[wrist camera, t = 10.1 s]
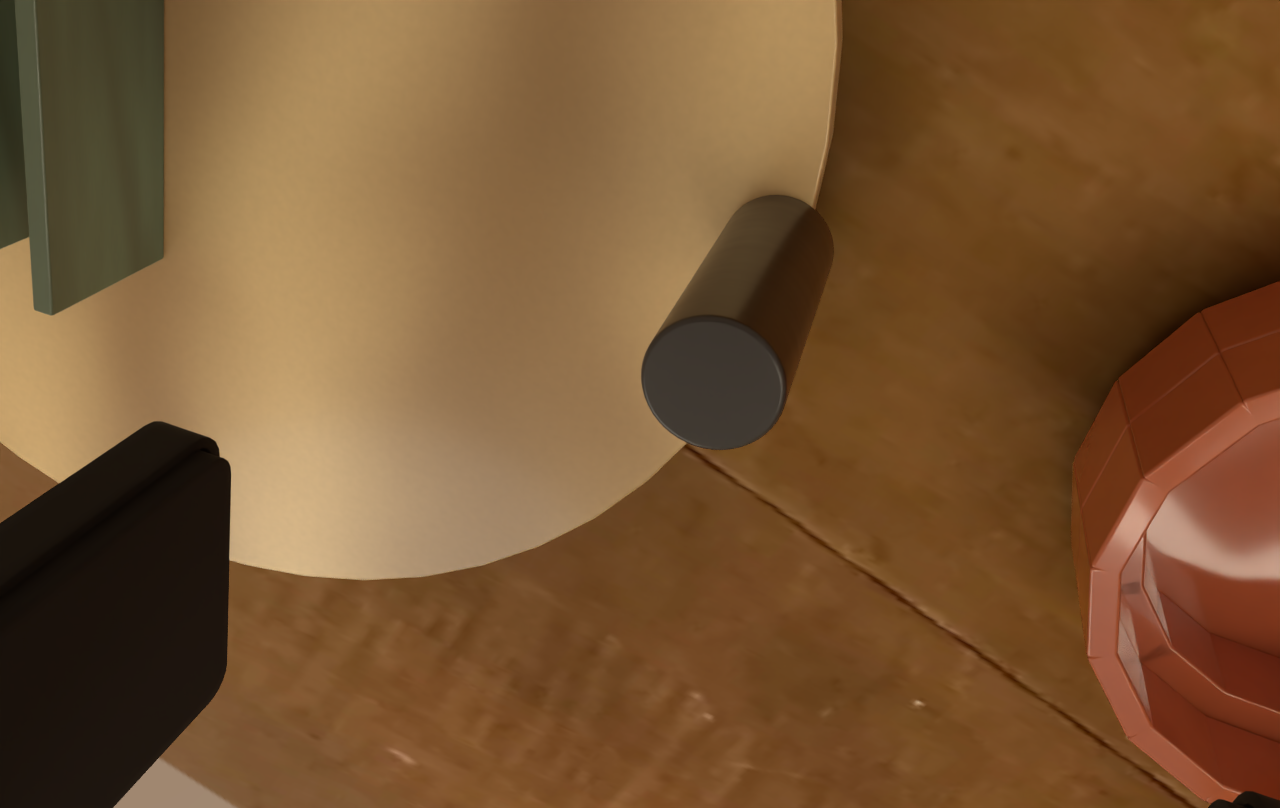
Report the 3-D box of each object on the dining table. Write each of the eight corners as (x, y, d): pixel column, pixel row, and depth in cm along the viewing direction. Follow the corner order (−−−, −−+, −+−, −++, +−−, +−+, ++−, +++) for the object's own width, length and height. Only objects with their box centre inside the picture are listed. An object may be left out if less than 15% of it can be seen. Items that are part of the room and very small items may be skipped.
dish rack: (1123, -639, 17) (1222, -954, 10) (690, 702, 32) (610, 944, 25) (-451, -938, 21) (-1142, -1314, 14) (-205, 382, 35) (-492, 514, 28)
